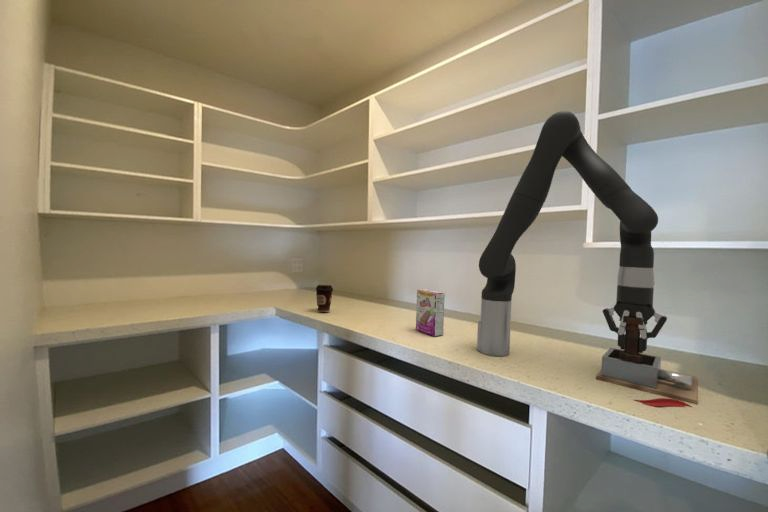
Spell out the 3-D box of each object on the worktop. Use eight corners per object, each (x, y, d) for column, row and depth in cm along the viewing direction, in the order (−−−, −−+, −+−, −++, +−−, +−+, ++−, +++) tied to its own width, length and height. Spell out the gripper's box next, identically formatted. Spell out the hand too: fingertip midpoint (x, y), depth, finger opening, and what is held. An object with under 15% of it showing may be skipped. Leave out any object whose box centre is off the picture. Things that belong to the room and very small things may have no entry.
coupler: (601, 375, 85) (602, 356, 84) (613, 360, 98) (614, 343, 97) (691, 397, 73) (692, 375, 73) (691, 376, 86) (692, 357, 86)
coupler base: (595, 379, 85) (595, 375, 84) (610, 361, 99) (610, 358, 99) (697, 405, 71) (697, 400, 71) (696, 380, 86) (696, 376, 86)
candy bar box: (414, 330, 130) (416, 289, 130) (424, 329, 133) (425, 289, 133) (434, 337, 121) (435, 293, 121) (443, 335, 124) (445, 292, 124)
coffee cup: (323, 313, 158) (324, 286, 158) (311, 311, 163) (312, 285, 163) (335, 310, 166) (336, 285, 165) (323, 308, 170) (324, 283, 170)
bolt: (641, 372, 86) (645, 316, 86) (646, 379, 82) (650, 319, 81) (615, 368, 89) (618, 313, 88) (618, 374, 84) (621, 316, 84)
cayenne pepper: (633, 405, 72) (633, 396, 72) (627, 396, 76) (627, 388, 76) (704, 418, 67) (705, 409, 67) (694, 408, 71) (695, 399, 71)
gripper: (599, 282, 87) (596, 347, 87) (670, 288, 77) (666, 360, 77) (605, 281, 92) (602, 341, 93) (671, 286, 82) (668, 354, 83)
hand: (631, 350), depth 85 cm, fingers closed on bolt, 3 cm apart
